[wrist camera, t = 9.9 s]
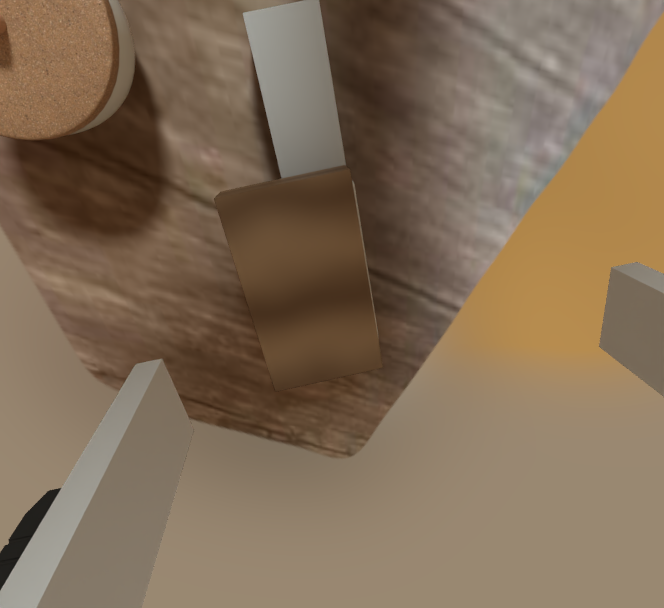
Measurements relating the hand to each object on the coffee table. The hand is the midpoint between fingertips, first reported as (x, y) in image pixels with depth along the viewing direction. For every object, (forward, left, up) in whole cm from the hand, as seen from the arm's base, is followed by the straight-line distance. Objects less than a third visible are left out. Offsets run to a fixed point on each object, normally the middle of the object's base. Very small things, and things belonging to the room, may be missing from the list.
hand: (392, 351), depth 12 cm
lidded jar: (-14, -15, -23) cm, 31 cm away
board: (+3, -3, -16) cm, 17 cm away
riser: (-7, -1, -23) cm, 24 cm away
